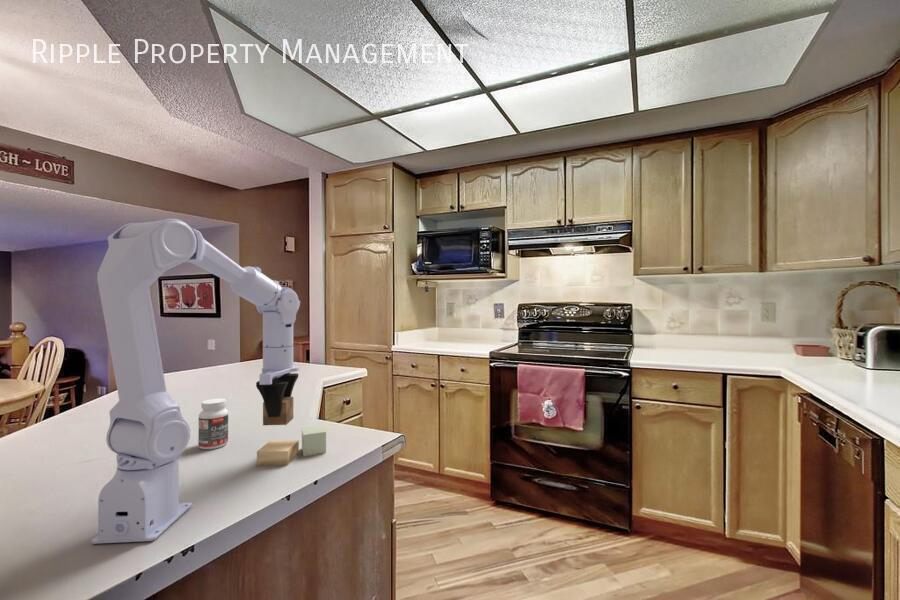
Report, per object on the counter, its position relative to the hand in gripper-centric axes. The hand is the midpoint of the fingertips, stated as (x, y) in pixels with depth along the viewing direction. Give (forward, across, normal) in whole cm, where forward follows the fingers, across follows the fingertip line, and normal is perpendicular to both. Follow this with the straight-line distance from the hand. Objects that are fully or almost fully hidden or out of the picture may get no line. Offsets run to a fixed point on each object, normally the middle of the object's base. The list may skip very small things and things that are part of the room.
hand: (278, 412), depth 81 cm
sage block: (+10, +4, -6) cm, 12 cm away
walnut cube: (+2, 0, 0) cm, 2 cm away
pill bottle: (+10, +9, +17) cm, 21 cm away
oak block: (+10, 0, 0) cm, 10 cm away
